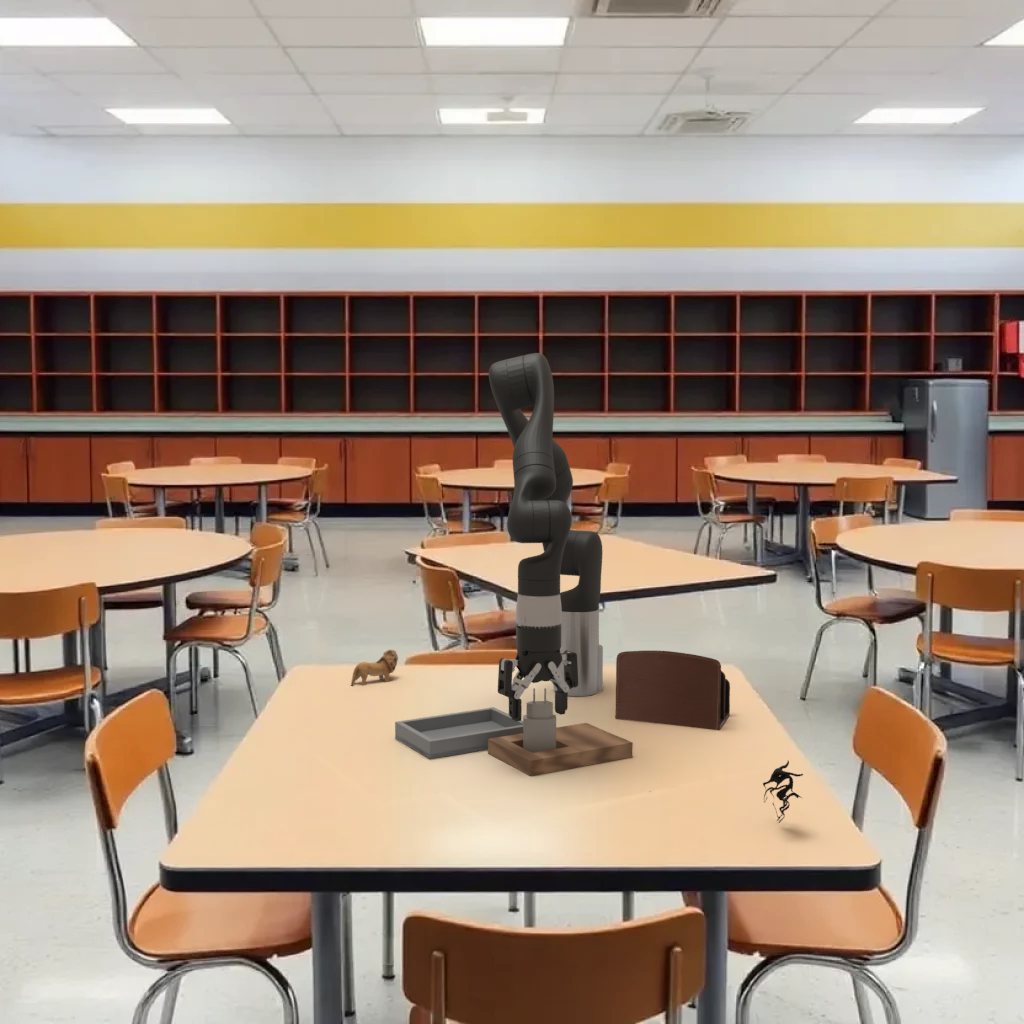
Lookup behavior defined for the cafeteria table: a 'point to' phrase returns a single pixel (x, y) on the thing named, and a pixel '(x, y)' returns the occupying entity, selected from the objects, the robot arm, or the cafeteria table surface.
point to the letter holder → (671, 689)
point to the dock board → (562, 750)
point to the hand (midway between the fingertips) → (538, 716)
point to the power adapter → (539, 726)
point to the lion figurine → (376, 667)
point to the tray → (456, 732)
